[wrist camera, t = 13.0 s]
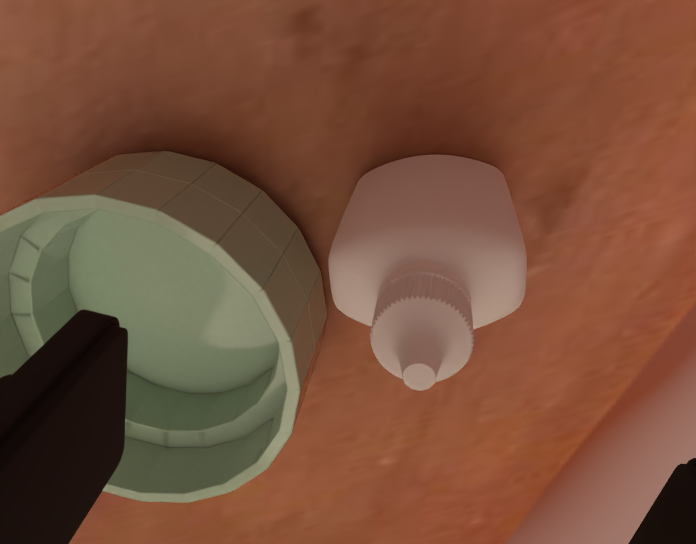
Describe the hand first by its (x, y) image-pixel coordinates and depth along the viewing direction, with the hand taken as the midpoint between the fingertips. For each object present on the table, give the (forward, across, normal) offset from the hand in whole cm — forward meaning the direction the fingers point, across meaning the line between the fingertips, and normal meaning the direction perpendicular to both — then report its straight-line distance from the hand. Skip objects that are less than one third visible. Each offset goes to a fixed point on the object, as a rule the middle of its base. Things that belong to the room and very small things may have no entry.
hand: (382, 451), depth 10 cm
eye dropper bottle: (+15, -1, 0) cm, 15 cm away
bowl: (+15, +9, +7) cm, 19 cm away
